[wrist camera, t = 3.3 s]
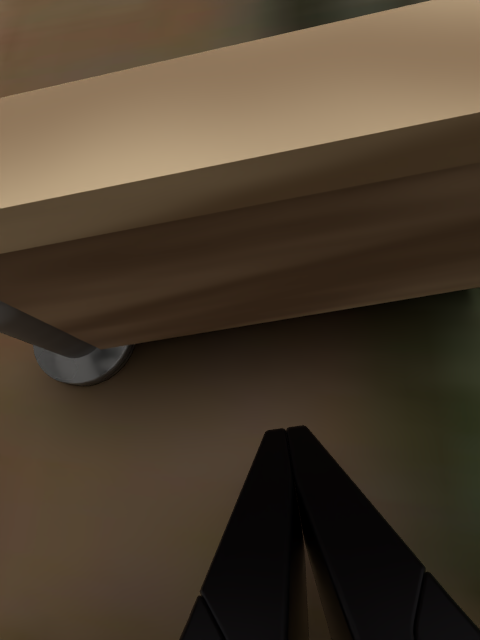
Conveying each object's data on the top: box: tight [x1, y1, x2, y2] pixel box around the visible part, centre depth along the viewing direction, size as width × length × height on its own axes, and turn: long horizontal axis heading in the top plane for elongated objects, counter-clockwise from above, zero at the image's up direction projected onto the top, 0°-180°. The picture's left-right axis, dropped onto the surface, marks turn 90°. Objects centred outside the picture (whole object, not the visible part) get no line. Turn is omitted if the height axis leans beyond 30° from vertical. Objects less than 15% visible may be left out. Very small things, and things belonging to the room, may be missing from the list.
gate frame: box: [33, 344, 135, 386], centre depth 12 cm, size 4×32×6 cm, turn 97°
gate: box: [0, 0, 480, 358], centre depth 10 cm, size 3×18×9 cm, turn 97°
